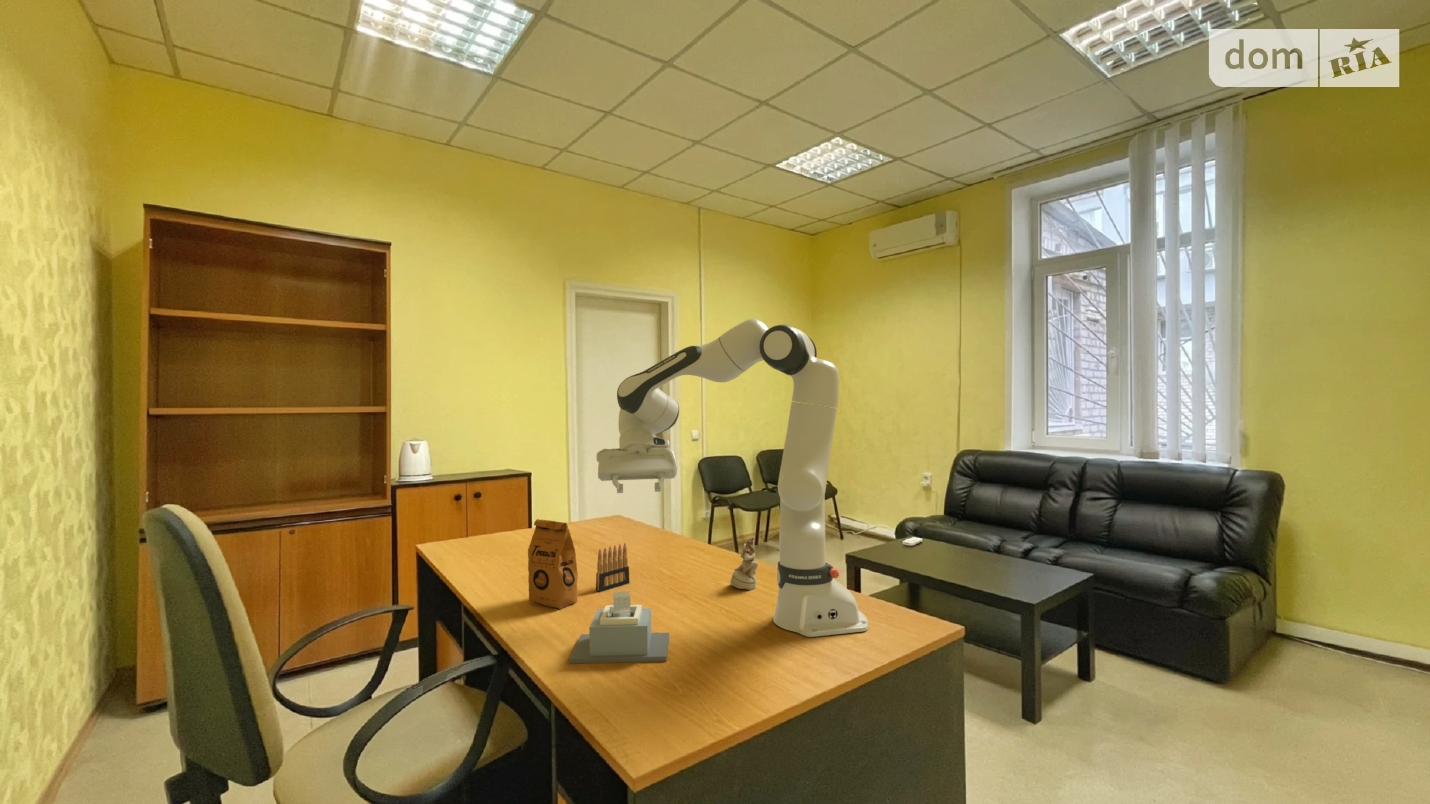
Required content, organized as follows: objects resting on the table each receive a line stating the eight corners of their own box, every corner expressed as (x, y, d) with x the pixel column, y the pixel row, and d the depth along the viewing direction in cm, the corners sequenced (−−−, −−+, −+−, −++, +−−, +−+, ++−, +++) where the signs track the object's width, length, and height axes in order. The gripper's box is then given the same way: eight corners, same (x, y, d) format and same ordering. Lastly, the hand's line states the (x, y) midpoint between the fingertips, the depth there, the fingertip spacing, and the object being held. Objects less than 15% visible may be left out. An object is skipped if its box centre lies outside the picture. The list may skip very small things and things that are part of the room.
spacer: (641, 610, 127) (641, 604, 127) (638, 624, 119) (638, 618, 119) (606, 610, 127) (605, 605, 127) (599, 625, 119) (599, 619, 119)
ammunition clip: (599, 592, 160) (599, 549, 160) (595, 590, 161) (595, 548, 161) (629, 583, 167) (629, 542, 167) (625, 581, 169) (625, 541, 169)
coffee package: (556, 613, 144) (555, 526, 144) (523, 604, 151) (522, 521, 151) (584, 601, 153) (583, 519, 153) (551, 593, 159) (551, 514, 159)
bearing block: (669, 636, 129) (669, 606, 129) (666, 661, 117) (666, 627, 117) (581, 638, 129) (580, 607, 129) (569, 663, 117) (568, 629, 117)
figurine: (758, 595, 162) (773, 545, 162) (736, 592, 159) (751, 541, 159) (746, 584, 168) (761, 536, 168) (725, 581, 165) (740, 532, 165)
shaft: (629, 640, 125) (629, 590, 125) (630, 647, 122) (630, 596, 122) (613, 642, 124) (613, 592, 124) (614, 649, 121) (613, 597, 121)
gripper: (596, 441, 147) (596, 484, 137) (674, 440, 151) (680, 481, 142) (596, 457, 151) (596, 500, 142) (672, 455, 155) (677, 496, 146)
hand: (639, 490), depth 142 cm, fingers open, 8 cm apart
